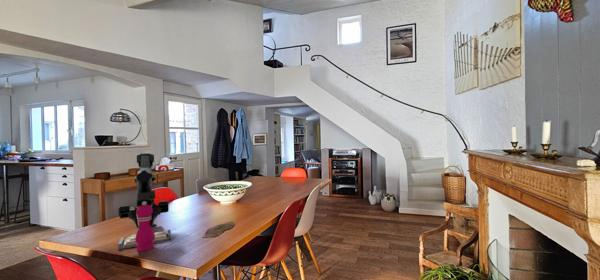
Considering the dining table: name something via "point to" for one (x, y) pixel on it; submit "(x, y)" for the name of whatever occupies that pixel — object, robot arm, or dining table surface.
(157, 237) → the birch offcut stack
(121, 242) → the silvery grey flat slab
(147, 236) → the pepper mill
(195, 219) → the dining table surface
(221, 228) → the wooden fragment
